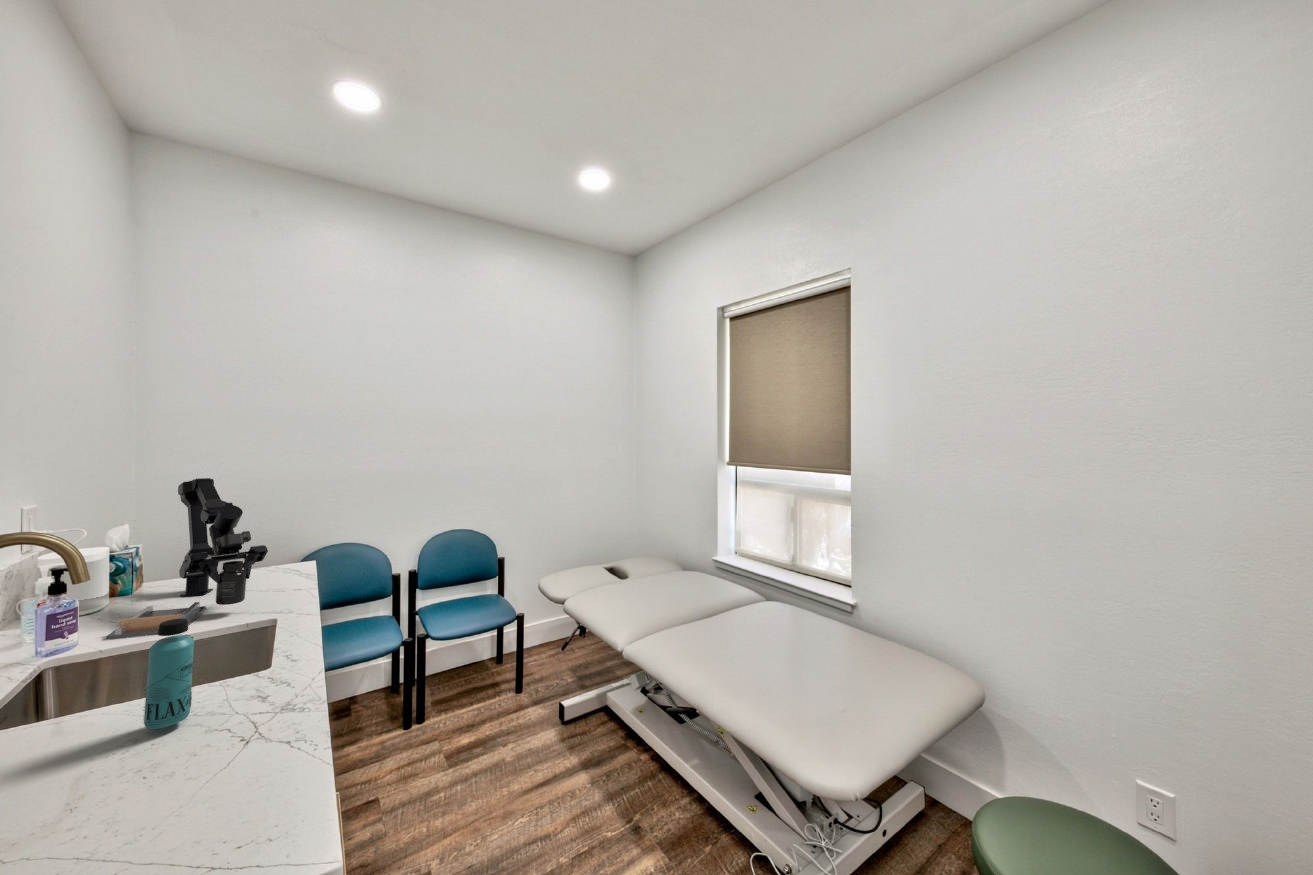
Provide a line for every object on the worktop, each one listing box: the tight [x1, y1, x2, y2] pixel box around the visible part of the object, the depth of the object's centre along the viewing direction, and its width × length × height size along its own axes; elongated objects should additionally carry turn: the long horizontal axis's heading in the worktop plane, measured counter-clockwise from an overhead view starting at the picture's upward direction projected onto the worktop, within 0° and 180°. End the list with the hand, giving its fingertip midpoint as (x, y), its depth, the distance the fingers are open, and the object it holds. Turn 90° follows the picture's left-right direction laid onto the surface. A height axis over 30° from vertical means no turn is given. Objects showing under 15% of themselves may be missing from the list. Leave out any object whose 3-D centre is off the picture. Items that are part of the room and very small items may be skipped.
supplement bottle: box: [215, 560, 247, 606], centre depth 151 cm, size 7×7×12 cm
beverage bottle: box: [142, 619, 195, 730], centre depth 94 cm, size 6×7×20 cm
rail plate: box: [106, 601, 207, 640], centre depth 142 cm, size 20×15×4 cm
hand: (234, 580), depth 151 cm, fingers closed on supplement bottle, 7 cm apart
